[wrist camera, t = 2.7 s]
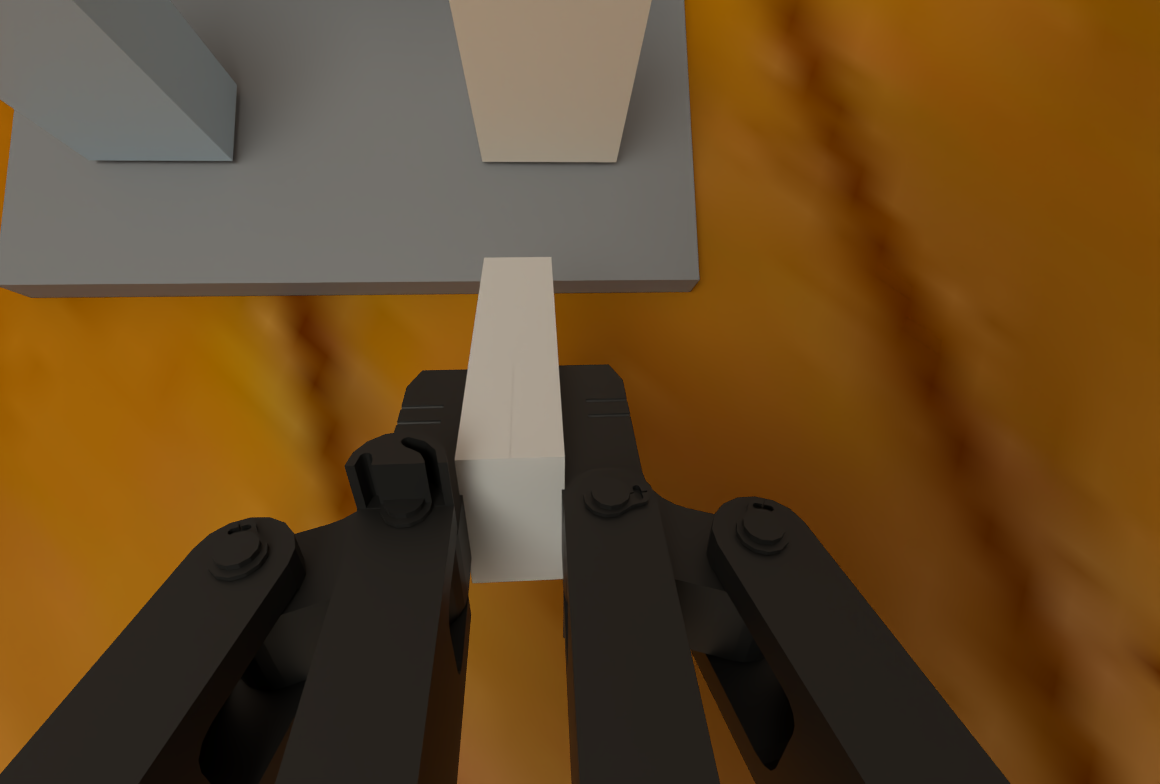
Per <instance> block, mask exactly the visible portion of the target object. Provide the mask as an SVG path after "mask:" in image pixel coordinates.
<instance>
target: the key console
mask: <svg viewBox="0 0 1160 784" xmlns="http://www.w3.org/2000/svg"><path fill="white" fill-rule="evenodd" d="M170 1H171V2H172V3H173V5H174V6H175V7H176V9H177V10H178V11H179V12H180V14H181V15H182V16H183V17H184V19H185V20H186V21H187V22H188V24H189V25H190V26H191V27H192V29H193V30H194V31H195V33H196V34H197V35H198V36H199V38H200V39H201V40H202V41H203V43H204V44H205V45H206V46H207V48H208V49H209V50H210V51H211V53H212V54H213V55H214V56H215V58H216V59H217V60H218V62H219V63H220V64H221V65H222V67H223V68H224V69H225V70H226V72H227V73H228V74H229V75H230V77H231V78H232V79H233V80H234V82H235V83H236V84H237V95H236V112H235V129H234V147H233V161H110V160H88V159H86V158H85V157H83V156H82V155H80V154H79V153H77V152H76V151H74V150H73V149H72V148H70V147H69V146H67V145H66V144H64V143H63V142H61V141H60V140H59V139H57V138H56V137H54V136H53V135H51V134H50V133H48V132H47V131H45V130H44V129H43V128H41V127H40V126H38V125H37V124H35V123H34V122H32V121H31V120H30V119H28V118H27V117H25V116H24V115H22V114H21V113H19V112H18V111H16V110H15V109H14V118H13V127H12V135H11V144H10V153H9V162H8V171H7V180H6V189H5V198H4V207H3V216H2V224H1V233H0V287H2V288H5V289H8V290H11V291H14V292H16V293H19V294H22V295H25V296H28V297H31V298H41V297H155V296H269V295H383V294H479V289H480V282H481V275H482V268H483V262H484V258H496V257H551V260H552V275H553V290H554V293H612V292H690V291H691V290H692V289H693V287H694V286H695V285H696V283H697V282H698V281H699V264H698V245H697V227H696V209H695V191H694V173H693V155H692V136H691V118H690V100H689V82H688V64H687V45H686V27H685V9H684V0H652V1H651V6H650V11H649V15H648V20H647V24H646V29H645V33H644V38H643V43H642V47H641V52H640V56H639V61H638V65H637V70H636V75H635V79H634V84H633V88H632V93H631V97H630V102H629V107H628V111H627V116H626V120H625V125H624V129H623V134H622V139H621V143H620V148H619V152H618V157H617V161H616V162H482V157H481V153H480V148H479V143H478V138H477V133H476V128H475V124H474V119H473V114H472V109H471V104H470V99H469V95H468V90H467V85H466V80H465V75H464V70H463V66H462V61H461V56H460V51H459V46H458V41H457V37H456V32H455V27H454V22H453V17H452V12H451V8H450V3H449V0H170Z"/></svg>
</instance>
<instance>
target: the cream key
mask: <svg viewBox="0 0 1160 784" xmlns="http://www.w3.org/2000/svg"><path fill="white" fill-rule="evenodd" d="M651 1H652V0H449V3H450V8H451V12H452V17H453V22H454V27H455V32H456V37H457V41H458V46H459V51H460V56H461V61H462V66H463V70H464V75H465V80H466V85H467V90H468V95H469V99H470V104H471V109H472V114H473V119H474V124H475V128H476V133H477V138H478V143H479V148H480V153H481V157H482V162H616V161H617V157H618V152H619V148H620V143H621V139H622V134H623V129H624V125H625V120H626V116H627V111H628V107H629V102H630V97H631V93H632V88H633V84H634V79H635V75H636V70H637V65H638V61H639V56H640V52H641V47H642V43H643V38H644V33H645V29H646V24H647V20H648V15H649V11H650V6H651Z"/></svg>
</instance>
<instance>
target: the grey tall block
mask: <svg viewBox="0 0 1160 784" xmlns="http://www.w3.org/2000/svg"><path fill="white" fill-rule="evenodd" d="M236 95H237V84H236V83H235V82H234V80H233V79H232V78H231V77H230V75H229V74H228V73H227V72H226V70H225V69H224V68H223V67H222V65H221V64H220V63H219V62H218V60H217V59H216V58H215V56H214V55H213V54H212V53H211V51H210V50H209V49H208V48H207V46H206V45H205V44H204V43H203V41H202V40H201V39H200V38H199V36H198V35H197V34H196V33H195V31H194V30H193V29H192V27H191V26H190V25H189V24H188V22H187V21H186V20H185V19H184V17H183V16H182V15H181V14H180V12H179V11H178V10H177V9H176V7H175V6H174V5H173V3H172V2H171V1H170V0H0V100H2V101H3V102H5V103H6V104H8V105H9V106H11V107H12V108H14V109H15V110H16V111H18V112H19V113H21V114H22V115H24V116H25V117H27V118H28V119H30V120H31V121H32V122H34V123H35V124H37V125H38V126H40V127H41V128H43V129H44V130H45V131H47V132H48V133H50V134H51V135H53V136H54V137H56V138H57V139H59V140H60V141H61V142H63V143H64V144H66V145H67V146H69V147H70V148H72V149H73V150H74V151H76V152H77V153H79V154H80V155H82V156H83V157H85V158H86V159H88V160H110V161H233V147H234V129H235V112H236Z"/></svg>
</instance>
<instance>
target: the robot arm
mask: <svg viewBox="0 0 1160 784" xmlns="http://www.w3.org/2000/svg"><path fill="white" fill-rule="evenodd" d="M626 399H627V398H626V393H625V389H624V384H623V380H622V379H621V378H620V376H619V375H618V374H617V373H616V372H615V371H614V370H613V369H612V368H611V367H610V366H609V365H566V366H559V364H558V349H557V334H556V320H555V305H554V290H553V275H552V260H551V257H496V258H484V262H483V268H482V275H481V282H480V289H479V296H478V303H477V310H476V316H475V323H474V330H473V337H472V344H471V351H470V358H469V364H468V370H426V371H422V372H421V373H420V374H419V375H418V376H417V377H416V378H415V379H414V380H413V381H412V382H411V383H410V384H409V385H408V386H407V388H406V392H405V395H404V399H403V403H402V410H400V413H399V417H398V421H397V425H396V428H395V431H394V433H390V434H385V435H382V436H380V437H377V438H375V439H373V440H370V441H368V442H366V443H365V444H364V445H362V446H361V447H360V448H358V449H357V450H356V451H354V452H353V453H352V455H351V457H350V458H349V460H348V461H347V463H346V464H345V469H346V472H347V476H348V479H349V483H350V486H351V489H352V493H353V496H354V499H355V503H356V506H357V512H355V513H353V514H351V515H349V516H348V517H346V518H344V519H342V520H339V521H336V522H334V523H331V524H328V525H325V526H321V527H318V528H314V529H311V530H307V531H304V532H300V533H297V534H294V533H293V532H292V530H291V529H290V528H289V527H288V526H287V525H286V523H284V522H281V521H279V520H276V519H273V518H270V517H257V518H247V519H244V520H240V521H236V522H233V523H229V524H228V525H226V526H224V527H222V528H220V529H218V530H216V531H214V532H213V533H211V534H209V535H208V536H207V537H206V538H205V539H204V540H202V541H201V542H200V543H199V544H198V545H197V546H196V547H195V548H193V550H192V551H191V552H190V553H189V554H188V555H187V557H186V558H185V559H184V560H183V561H182V562H181V564H180V565H179V566H178V567H177V568H176V569H175V571H174V572H173V573H172V574H171V575H170V576H169V578H168V579H167V580H166V581H165V582H164V583H163V585H162V586H161V587H160V588H159V589H158V590H157V592H156V593H155V594H154V595H153V596H152V598H151V599H150V600H149V601H148V602H147V603H146V605H145V606H144V607H143V608H142V609H141V610H140V612H139V613H138V614H137V615H136V616H135V617H134V619H133V620H132V621H131V622H130V623H129V624H128V626H127V627H126V628H125V629H124V630H123V631H122V633H121V634H120V635H119V636H118V637H117V638H116V640H115V641H114V642H113V643H112V644H111V645H110V647H109V648H108V649H107V650H106V651H105V652H104V654H103V655H102V656H101V657H100V658H99V659H98V661H97V662H96V663H95V664H94V665H93V666H92V668H91V669H90V670H89V671H88V672H87V673H86V675H85V676H84V677H83V678H82V679H81V680H80V682H79V683H78V684H77V685H76V686H75V687H74V689H73V690H72V691H71V692H70V693H69V694H68V696H67V697H66V698H65V699H64V700H63V701H62V703H61V704H60V705H59V706H58V707H57V708H56V710H55V711H54V712H53V713H52V714H51V715H50V717H49V718H48V719H47V720H46V721H45V723H44V724H43V725H42V726H41V727H40V728H39V730H38V731H37V732H36V733H35V734H34V735H33V737H32V738H31V739H30V740H29V741H28V742H27V744H26V745H25V746H24V747H23V748H22V749H21V751H20V752H19V753H18V754H17V755H16V756H15V758H14V759H13V760H12V761H11V762H10V763H9V765H8V766H7V767H6V768H5V769H4V770H3V772H2V773H1V774H0V784H457V775H458V764H459V752H460V740H461V728H462V716H463V705H464V693H465V681H466V669H467V657H468V645H469V634H470V622H471V611H470V604H469V597H468V591H469V581H470V570H471V577H472V583H486V582H508V581H530V580H552V579H563V588H564V622H563V638H565V652H566V674H567V695H568V716H569V738H570V759H571V780H572V784H720V781H719V776H718V772H717V768H716V763H715V759H714V754H713V750H712V745H711V741H710V736H709V732H708V727H707V723H706V718H705V714H704V709H703V705H702V700H701V696H700V691H699V687H698V682H697V678H696V673H695V669H694V664H693V660H692V656H691V651H692V654H693V656H694V658H695V660H696V662H697V664H698V666H699V668H700V670H701V672H702V674H703V677H704V679H705V681H706V683H707V685H708V687H709V689H710V691H711V693H712V695H713V697H714V699H715V701H716V703H717V705H718V707H719V709H720V711H721V714H722V716H723V718H724V720H725V722H726V724H727V726H728V728H729V730H730V732H731V734H732V736H733V738H734V740H735V742H736V744H737V746H738V748H739V750H740V753H741V755H742V757H743V759H744V761H745V763H746V765H747V767H748V769H749V771H750V773H751V775H752V777H753V779H754V781H755V783H756V784H1010V783H1009V781H1008V780H1007V779H1006V777H1005V776H1004V775H1003V774H1002V772H1001V771H1000V770H999V769H998V767H997V766H996V765H995V763H994V762H993V761H992V760H991V758H990V757H989V756H988V755H987V753H986V752H985V751H984V750H983V748H982V747H981V746H980V744H979V743H978V742H977V741H976V739H975V738H974V737H973V736H972V734H971V733H970V732H969V730H968V729H967V728H966V727H965V725H964V724H963V723H962V722H961V720H960V719H959V718H958V717H957V715H956V714H955V713H954V711H953V710H952V709H951V708H950V706H949V705H948V704H947V703H946V701H945V700H944V699H943V697H942V696H941V695H940V694H939V692H938V691H937V690H936V689H935V687H934V686H933V685H932V684H931V682H930V681H929V680H928V678H927V677H926V676H925V675H924V673H923V672H922V671H921V670H920V668H919V667H918V666H917V665H916V663H915V662H914V661H913V659H912V658H911V657H910V656H909V654H908V653H907V652H906V651H905V649H904V648H903V647H902V645H901V644H900V643H899V642H898V640H897V639H896V638H895V637H894V635H893V634H892V633H891V632H890V630H889V629H888V628H887V626H886V625H885V624H884V623H883V621H882V620H881V619H880V618H879V616H878V615H877V614H876V612H875V611H874V610H873V609H872V607H871V606H870V605H869V604H868V602H867V601H866V600H865V599H864V597H863V596H862V595H861V593H860V592H859V591H858V590H857V588H856V587H855V586H854V585H853V583H852V582H851V581H850V579H849V578H848V577H847V576H846V574H845V573H844V572H843V571H842V569H841V568H840V567H839V566H838V564H837V563H836V562H835V560H834V559H833V558H832V557H831V555H830V554H829V553H828V552H827V550H826V549H825V548H824V546H823V545H822V544H821V543H820V541H819V540H818V539H817V538H816V536H815V535H814V534H813V533H812V531H811V530H810V529H809V527H808V526H807V525H806V524H805V522H804V521H803V520H802V519H800V518H799V517H798V516H797V515H796V514H795V513H794V512H793V511H792V510H791V509H789V508H787V507H785V506H783V505H781V504H779V503H777V502H775V501H773V500H769V499H764V498H759V497H755V496H754V497H740V498H735V499H733V500H731V501H729V502H726V503H724V504H723V505H722V506H721V507H720V508H719V509H718V511H717V512H716V513H715V514H711V513H706V512H702V511H697V510H693V509H688V508H685V507H682V506H679V505H675V504H673V503H671V502H669V501H667V500H666V499H664V498H662V497H661V496H659V495H658V494H657V493H656V492H655V491H653V490H652V488H651V486H650V485H649V484H648V483H647V482H646V480H645V478H644V475H643V473H642V469H641V464H640V459H639V455H638V450H637V445H636V441H635V436H634V431H633V426H632V422H631V417H630V412H629V407H628V403H627V400H626ZM690 649H691V651H690Z"/></svg>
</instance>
